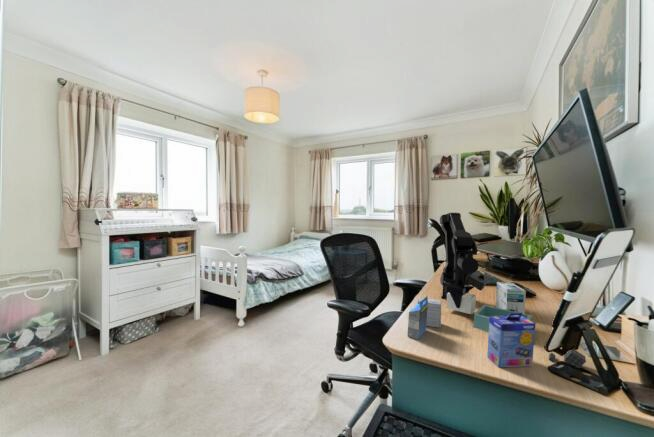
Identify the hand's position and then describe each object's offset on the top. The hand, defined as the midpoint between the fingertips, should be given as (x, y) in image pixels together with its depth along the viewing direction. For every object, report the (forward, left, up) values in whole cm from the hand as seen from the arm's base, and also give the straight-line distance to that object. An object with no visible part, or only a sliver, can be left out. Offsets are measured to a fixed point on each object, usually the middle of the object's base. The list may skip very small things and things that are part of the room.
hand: (460, 305), depth 109 cm
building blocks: (+32, -17, -3) cm, 36 cm away
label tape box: (-5, -29, -3) cm, 29 cm away
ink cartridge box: (+21, -27, -3) cm, 34 cm away
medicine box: (-5, -19, -3) cm, 20 cm away
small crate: (0, 0, -1) cm, 1 cm away
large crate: (+15, -4, -3) cm, 16 cm away
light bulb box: (+14, +15, -3) cm, 21 cm away
